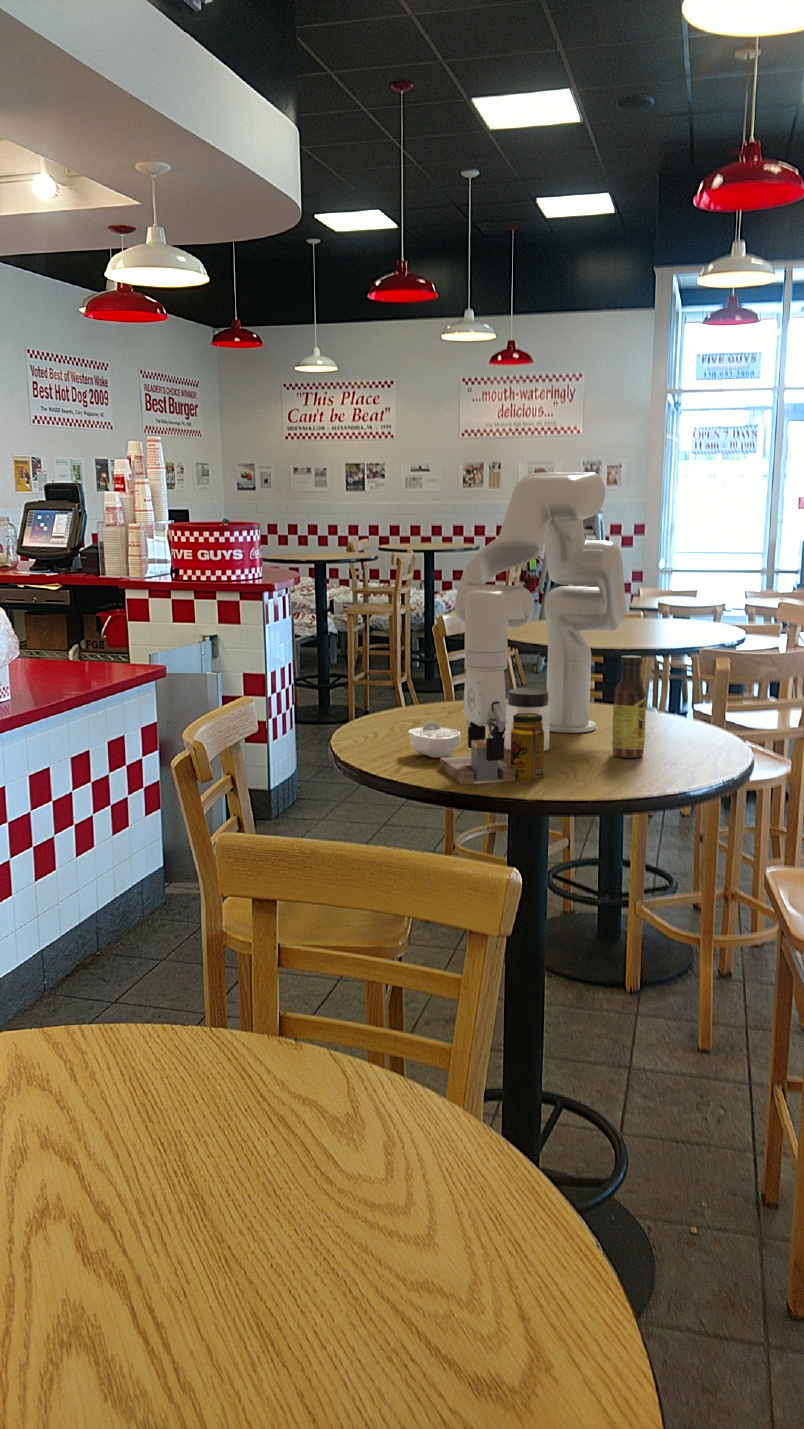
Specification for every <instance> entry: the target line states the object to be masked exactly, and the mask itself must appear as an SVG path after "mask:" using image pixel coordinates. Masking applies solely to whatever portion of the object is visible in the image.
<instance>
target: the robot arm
mask: <svg viewBox="0 0 804 1429" xmlns="http://www.w3.org/2000/svg"><path fill="white" fill-rule="evenodd" d="M603 480H604V479H603V478H602V477H601V475H599V474H598V473H596V472H592V471H591V472H590V471H589V472H587V471H581V472H580V471H579V472H571V471H570V472H557V471H555V472H553V471H551V472H532V473H529V474H526V475H524V476H523V477H522V478H521V479H520V480H519V481H518V482H517V483H516V485H515V486H514V488H513V490H512V494H511V497H510V500H509V503H508V505H507V509H506V512H505V516H504V519H503V521H502V522H503V523H502V525H501V528H500V532H499V534H498V536H497V537H496V538H495V539H493V540H492V541H491V542H489V543H488V544H487V545H486V544H485V546H484V547H483V548H482V549H481V550H479V551H478V552H477V553H476V554H475V555H474V556H472V558H471V559H470V560H469V561H468V563H467V564H466V566H465V567H464V570H463V572H462V575H461V578H460V581H459V583H458V584H459V585H458V587H457V590H456V591H457V592H456V595H455V600H454V610H455V615H456V617H457V619H458V620H459V621H460V622H461V623H463V624H464V668H465V669H466V671H465V678H464V692H463V716H464V717H465V719H467V747H468V748H469V749H471V740H486V760H488V761H495V760H500V761H503V760H504V759H505V730H506V729H505V728H506V727H505V724H506V704H507V702H506V700H507V697H506V680H505V670H507V669H508V633H509V632H508V630H509V629H508V628H519V627H522V626H525V625H526V624H528V622H529V621H530V620H531V618H532V616H533V614H534V611H535V599H534V596H533V594H532V592H531V591H530V590H529V589H527V588H526V587H524V586H520V585H511V584H510V585H509V584H508V585H507V584H506V585H505V584H502V585H501V584H487V582H488V581H490V579H493V577H495V576H497V575H498V574H501V573H502V572H505V571H509V570H511V569H514V568H517V567H519V566H522V565H524V564H527V563H529V562H531V561H533V560H535V559H536V558H538V557H539V555H541V553H542V550H543V547H544V554H545V560H546V569H547V574H548V576H549V579H550V580H551V581H552V582H554V583H555V584H558V585H563V586H558V587H554V588H552V589H551V590H550V591H549V592H548V593H547V594H546V596H545V600H544V616H545V622H546V630H547V662H546V663H547V669H546V691H548V697H549V698H548V704H550V728H549V732H554V733H565V734H569V733H570V734H575V733H576V734H578V733H588V732H592V731H594V730H596V729H597V728H596V727H597V723H596V722H595V721H592V720H591V719H590V707H591V705H590V700H591V671H592V669H591V667H592V651H591V645H590V644H589V642H588V640H587V639H586V637H585V635H584V634H583V633H582V632H585V631H590V632H615V631H618V630H619V629H621V628H622V626H623V625H624V623H625V620H626V609H627V608H626V606H627V605H626V592H625V579H624V578H625V576H624V564H623V556H622V553H621V550H620V548H619V546H618V545H617V544H616V543H614V542H612V541H609V540H598V539H597V540H592V539H591V540H589V539H587V538H586V537H585V530H584V520H586V519H588V518H592V517H594V516H596V515H597V514H599V512H600V511H601V509H602V508H603V505H604V504H605V503H604V502H605V498H606V487H605V486H606V485H605V483H604V481H603ZM492 728H493V729H492ZM486 733H487V736H488V737H487V738H486Z"/></svg>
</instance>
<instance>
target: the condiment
mask: <svg viewBox="0 0 804 1429" xmlns="http://www.w3.org/2000/svg"><path fill="white" fill-rule="evenodd" d="M513 719H514V720H513V729H512V730H511V751H510V750H509V752H510V758H509V759H510V761H509V762H510V765H509V766H510V767H511V768H513V769H514V770H515V781H516V780H518V781H522V782H523V781H524V782H525V781H526V782H533V781H535V782H536V781H540V780H542V779H543V777H544V774H545V772H544V771H545V770H544V769H545V768H544V766H545V765H544V764H545V763H544V762H545V751H544V730H543V728H542V726H543V724H542V716H541V715H540V714H536V713H518V714H515V715H514V716H513Z"/></svg>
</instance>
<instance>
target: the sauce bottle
mask: <svg viewBox="0 0 804 1429" xmlns="http://www.w3.org/2000/svg"><path fill="white" fill-rule="evenodd" d="M642 658H643V657H642V656H641V655H634V654H633V655H631V654H630V655H621V656H620V665H621V668H620V669H621V670H620V680H619V682H618V683H617V685H616V686H615V689H614V698H613V699H614V701H613V710H612V711H613V715H612V743H611V744H612V746H611V747H612V754H613V756H615V757H616V758H621V759H624V758H626V759H635V758H636V759H637V758H641V757H643V755H644V749H645V740H646V739H645V737H646V736H645V735H646V734H645V733H646V711H647V710H646V707H647V695H646V692H645V689H644V686H643V681H642V679H641V670H642V669H641V666H642V664H643V663H642V662H643V660H642Z"/></svg>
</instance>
